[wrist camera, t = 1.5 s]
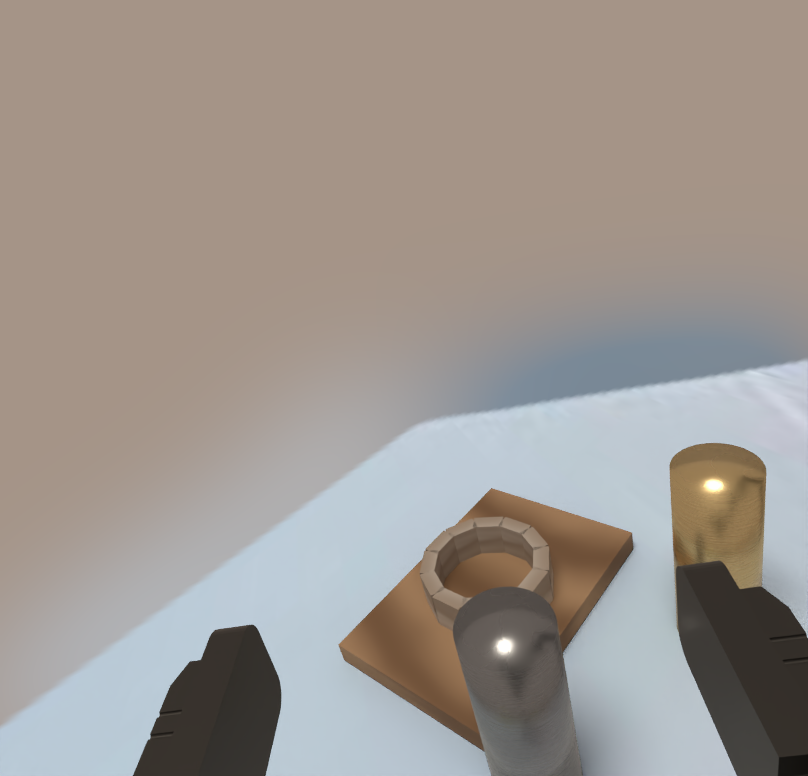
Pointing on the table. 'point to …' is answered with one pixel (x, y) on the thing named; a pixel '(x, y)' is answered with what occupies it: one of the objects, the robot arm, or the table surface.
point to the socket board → (472, 574)
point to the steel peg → (517, 683)
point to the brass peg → (719, 510)
